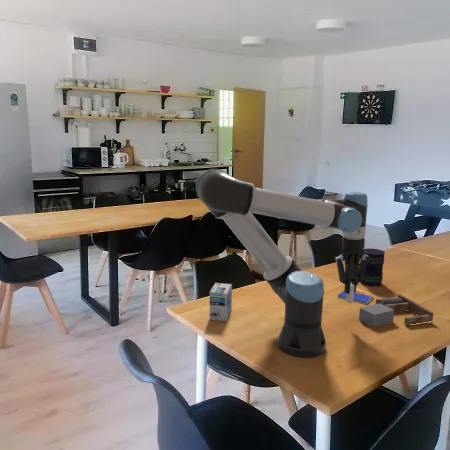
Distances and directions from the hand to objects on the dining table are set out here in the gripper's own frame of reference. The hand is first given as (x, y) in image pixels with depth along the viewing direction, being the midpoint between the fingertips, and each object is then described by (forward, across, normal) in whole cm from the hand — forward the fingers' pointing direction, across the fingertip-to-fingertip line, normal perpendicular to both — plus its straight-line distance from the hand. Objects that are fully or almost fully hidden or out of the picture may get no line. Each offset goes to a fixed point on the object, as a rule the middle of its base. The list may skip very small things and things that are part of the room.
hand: (349, 301), depth 162 cm
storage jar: (+9, +34, +38) cm, 51 cm away
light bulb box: (+8, -42, +18) cm, 47 cm away
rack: (+9, +24, +2) cm, 26 cm away
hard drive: (+10, +16, +22) cm, 29 cm away
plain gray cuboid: (+9, +12, 0) cm, 15 cm away
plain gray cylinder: (+9, +24, +9) cm, 28 cm away
